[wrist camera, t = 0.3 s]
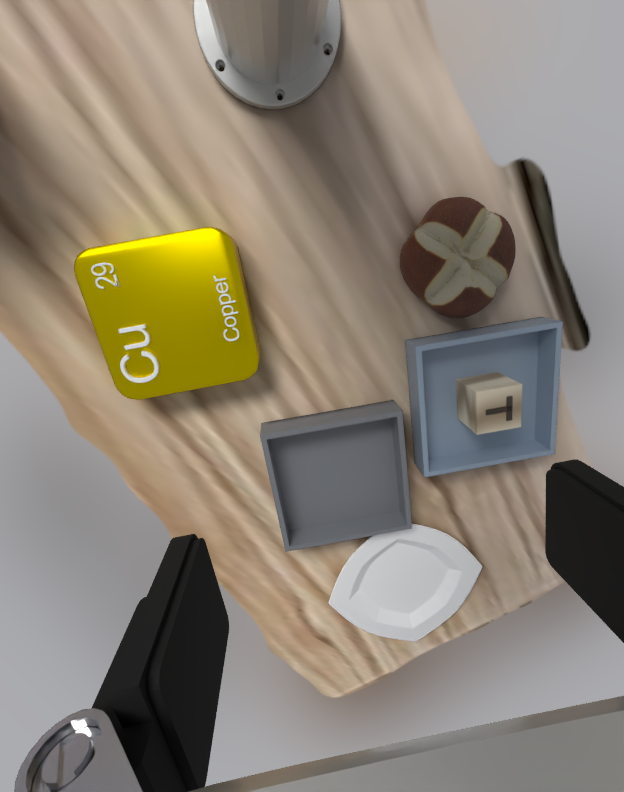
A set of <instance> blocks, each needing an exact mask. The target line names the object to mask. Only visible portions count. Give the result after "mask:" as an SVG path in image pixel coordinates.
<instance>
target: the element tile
mask: <svg viewBox="0 0 624 792" xmlns="http://www.w3.org/2000/svg"><path fill="white" fill-rule="evenodd" d="M74 271H75V276H76V279H77V282H78V285H79V288H80V290H81V293H82V296H83V299H84V301H85V304H86V307H87V310H88V312H89V315H90V318H91V321H92V323H93V326H94V329H95V332H96V335H97V337H98V340H99V343H100V346H101V348H102V351H103V354H104V357H105V359H106V362H107V365H108V368H109V370H110V373H111V376H112V379H113V381H114V384H115V386H116V388H117V389H118V391H119V392H120V393H121V394H122V395H124V396H125V397H127V398H130V399H136V400H141V399H146V398H151V397H157V396H162V395H167V394H173V393H178V392H183V391H189V390H194V389H199V388H204V387H210V386H215V385H220V384H226V383H231V382H236V381H242V380H245V379H248V378H249V377H251V376H252V375H254V374H255V372H256V371H257V369H258V364H259V360H260V346H259V342H258V337H257V333H256V328H255V324H254V319H253V315H252V310H251V306H250V301H249V297H248V292H247V288H246V283H245V279H244V274H243V270H242V265H241V261H240V256H239V252H238V248H237V245H236V243H235V241H234V240H233V238H232V237H231V236H230V235H228V234H227V233H226V232H224V231H222V230H221V229H217V228H213V227H203V228H198V229H192V230H187V231H181V232H176V233H170V234H165V235H159V236H153V237H148V238H142V239H137V240H131V241H126V242H120V243H115V244H109V245H104V246H98V247H93V248H88V249H86V250H84V251H83V252H81V253H80V254H79V255H78V256H77V258H76V260H75V264H74Z"/></svg>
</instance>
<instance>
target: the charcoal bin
mask: <svg viewBox="0 0 624 792" xmlns="http://www.w3.org/2000/svg"><path fill="white" fill-rule="evenodd" d="M260 437H261V442H262V446H263V451H264V455H265V460H266V465H267V469H268V474H269V478H270V483H271V487H272V492H273V496H274V501H275V505H276V510H277V514H278V519H279V524H280V528H281V533H282V537H283V542H284V546H285V551H286V552H287V551H292V550H297V549H303V548H308V547H314V546H319V545H325V544H330V543H336V542H341V541H347V540H352V539H358V538H363V537H369V536H374V535H379V534H385V533H390V532H396V531H401V530H407V529H412V522H411V510H410V498H409V486H408V474H407V463H406V451H405V439H404V427H403V415H402V410H401V409H400V408H399V406H398V405H397V404H396V403H395V402H394V400H391V401H385V402H380V403H374V404H368V405H362V406H357V407H351V408H345V409H340V410H334V411H328V412H322V413H317V414H311V415H305V416H300V417H294V418H288V419H282V420H277V421H271V422H265V423H262V424H261V433H260Z"/></svg>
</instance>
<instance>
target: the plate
mask: <svg viewBox="0 0 624 792" xmlns="http://www.w3.org/2000/svg"><path fill="white" fill-rule="evenodd" d="M482 567H483V566H482V565H481V564H480V563H479V562H478V561H477V559H476V558H475V557H474V556H473V555H472V554H471V553H470V552H469V551H468V549H467V548H465V547H464V546H463V545H462V544H461V543H460V542H459V541H457V540H456V539H454V538H453V537H451V536H450V535H448V534H446V533H444V532H441V531H439V530H437V529H434V528H430V527H427V526H423V525H418V524H413V523H412V529H407V530H401V531H396V532H390V533H385V534H379V535H374V536H371V537H370V538H369V539H368V540H366V541H365V542H364V543H363V544H362V545H361V546H360V547H359V548H358V549H357V550H356V551H355V552H354V553H353V554H352V555H351V556H350V557H349V559H348V560H347V562H346V563H345V565H344V567H343V568H342V570H341V572H340V574H339V576H338V578H337V581H336V583H335V586H334V588H333V591H332V594H331V597H330V600H329V603H328V604H330V605H331V606H332V607H333V608H334V609H335V610H336V611H337V612H338V613H340V614H341V615H342V616H343V617H344V618H345V619H347V620H348V621H349V622H351V623H352V624H354V625H355V626H357V627H358V628H360V629H362V630H364V631H366V632H369V633H372V634H375V635H378V636H382V637H387V638H392V639H399V640H407V641H418V640H419V639H421V638H422V637H424V636H425V635H427V634H428V633H430V632H431V631H433V630H434V629H435V628H437V627H438V626H439V625H441V624H442V623H443V622H444V621H446V620H447V619H448V618H449V617H450V616H451V615H453V614H454V613H455V612H456V611H457V610H458V608H459V607H460V606H461V604H462V603H463V602H464V600H465V599H466V597H467V596H468V594H469V592H470V591H471V589H472V587H473V585H474V583H475V581H476V579H477V577H478V575H479V573H480V571H481V569H482Z"/></svg>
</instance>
